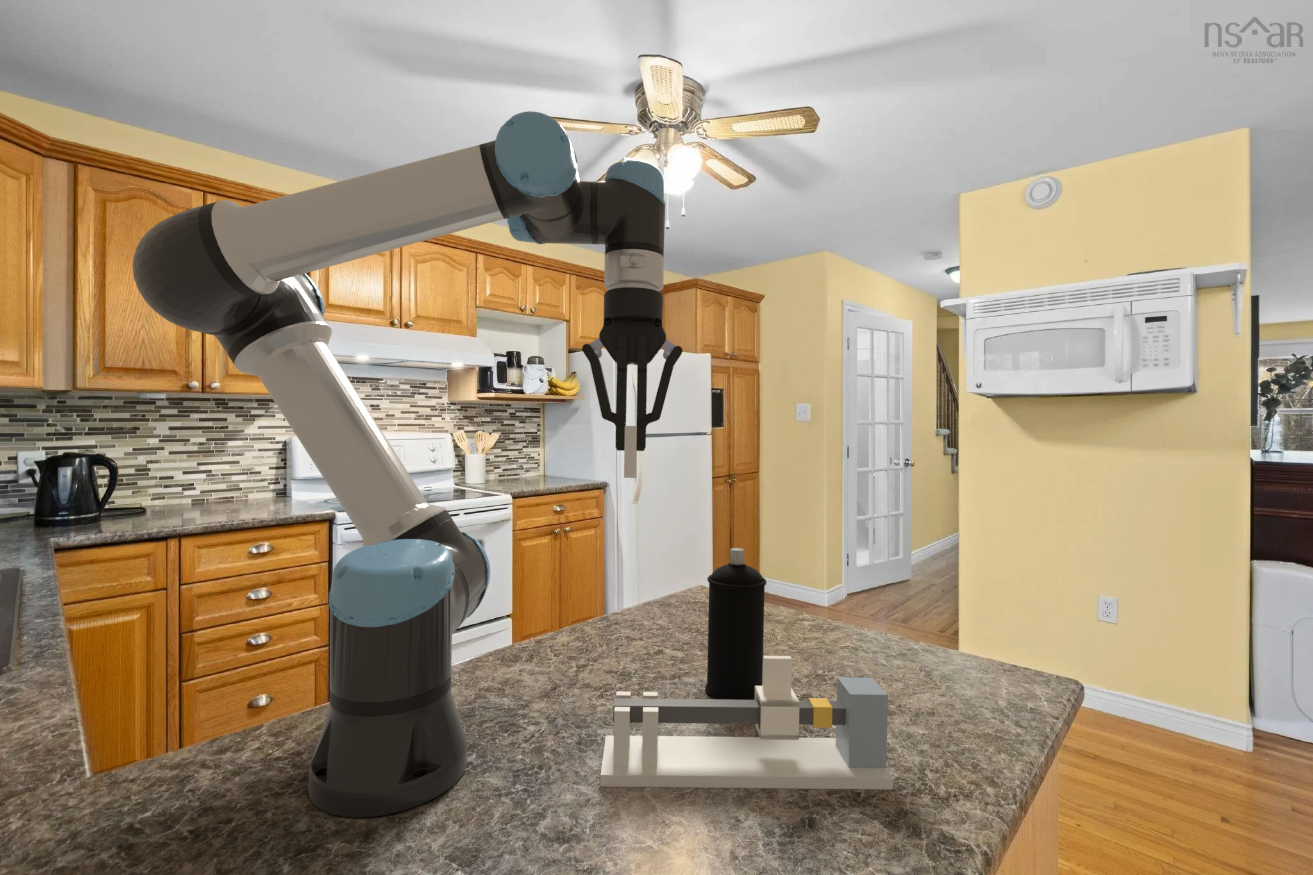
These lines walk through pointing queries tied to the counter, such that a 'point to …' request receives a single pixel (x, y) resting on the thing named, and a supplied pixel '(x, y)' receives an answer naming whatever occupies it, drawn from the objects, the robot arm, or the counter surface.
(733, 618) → the aerosol can
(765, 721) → the sleeve
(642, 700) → the grey rod on board
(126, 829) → the counter surface
